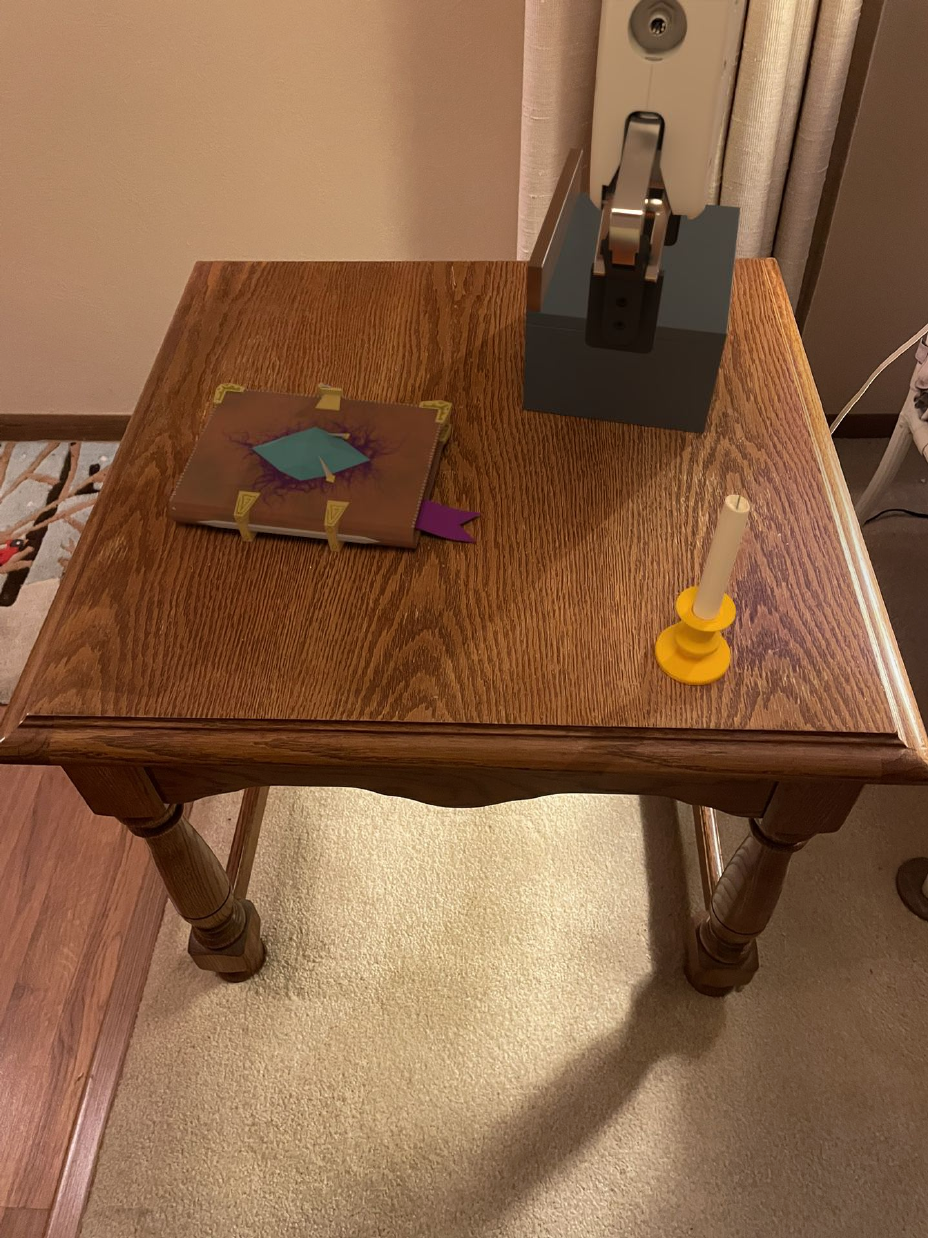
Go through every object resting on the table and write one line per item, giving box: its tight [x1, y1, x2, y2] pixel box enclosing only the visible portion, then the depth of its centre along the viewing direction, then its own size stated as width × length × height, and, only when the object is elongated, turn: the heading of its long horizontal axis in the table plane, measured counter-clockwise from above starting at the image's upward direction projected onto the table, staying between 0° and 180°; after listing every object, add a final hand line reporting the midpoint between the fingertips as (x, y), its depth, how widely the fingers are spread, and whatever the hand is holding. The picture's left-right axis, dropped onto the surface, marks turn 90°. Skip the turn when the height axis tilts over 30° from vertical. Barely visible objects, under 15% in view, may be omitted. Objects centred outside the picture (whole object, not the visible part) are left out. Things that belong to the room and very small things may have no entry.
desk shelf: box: [522, 148, 742, 434], centre depth 79 cm, size 16×20×14 cm
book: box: [168, 381, 483, 553], centre depth 73 cm, size 16×25×5 cm, turn 80°
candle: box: [654, 494, 751, 686], centre depth 56 cm, size 5×5×16 cm
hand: (633, 290), depth 45 cm, fingers open, 9 cm apart
